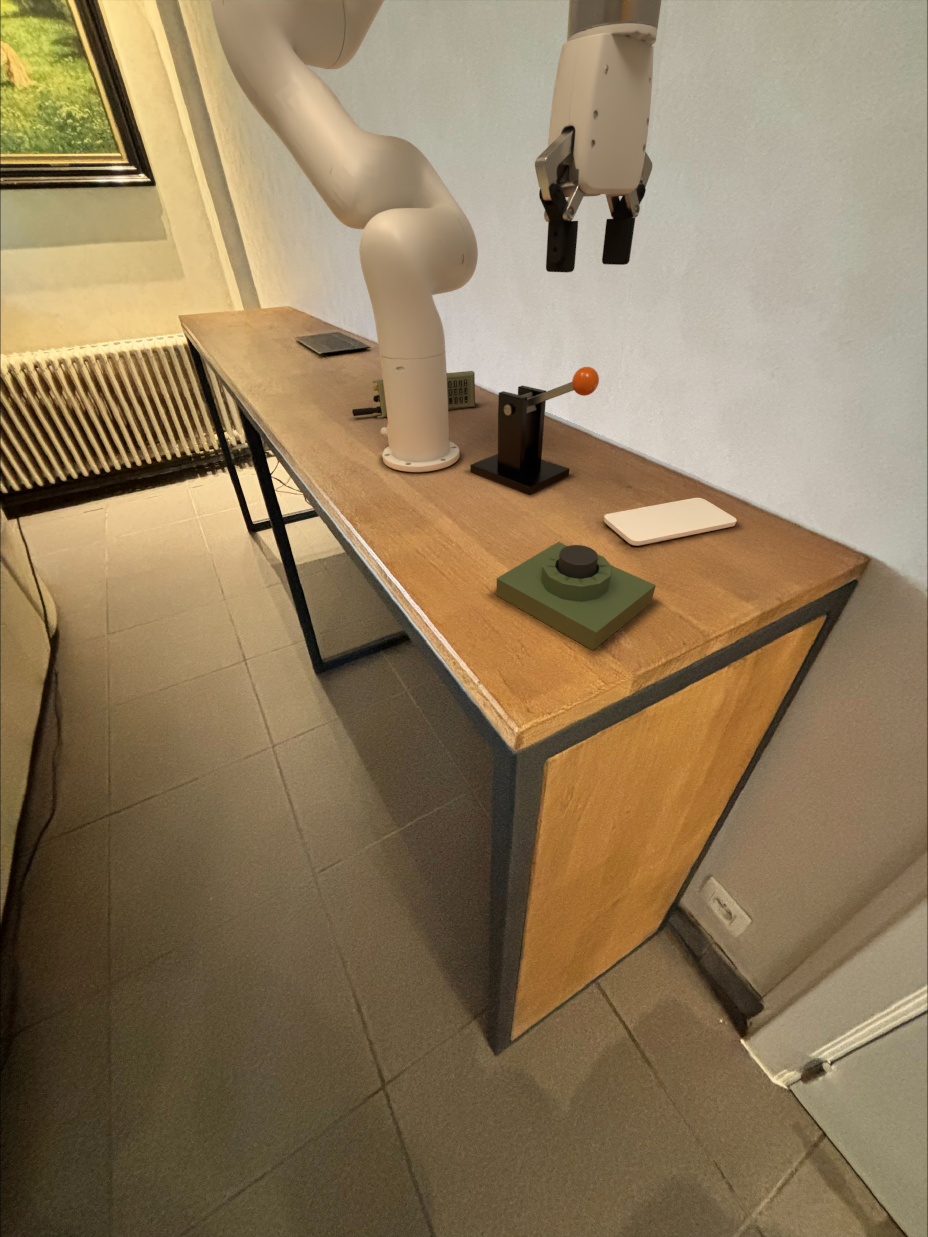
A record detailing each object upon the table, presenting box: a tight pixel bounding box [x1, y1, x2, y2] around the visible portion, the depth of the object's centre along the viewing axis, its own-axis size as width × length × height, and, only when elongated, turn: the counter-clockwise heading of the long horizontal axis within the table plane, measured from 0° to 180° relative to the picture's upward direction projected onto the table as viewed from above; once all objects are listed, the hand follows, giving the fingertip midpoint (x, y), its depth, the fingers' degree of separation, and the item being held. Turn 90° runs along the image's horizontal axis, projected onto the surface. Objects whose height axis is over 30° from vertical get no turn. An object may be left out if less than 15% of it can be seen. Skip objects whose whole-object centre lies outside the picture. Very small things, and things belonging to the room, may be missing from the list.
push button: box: [558, 544, 599, 579], centre depth 48 cm, size 4×4×2 cm
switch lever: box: [521, 366, 600, 413], centre depth 65 cm, size 14×3×3 cm, turn 44°
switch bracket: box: [469, 385, 570, 496], centre depth 72 cm, size 12×9×12 cm
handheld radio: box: [351, 370, 476, 419], centre depth 99 cm, size 7×3×25 cm
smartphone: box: [603, 497, 737, 546], centre depth 62 cm, size 7×1×15 cm
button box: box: [495, 541, 656, 651], centre depth 49 cm, size 12×10×4 cm
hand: (588, 267), depth 53 cm, fingers open, 9 cm apart
